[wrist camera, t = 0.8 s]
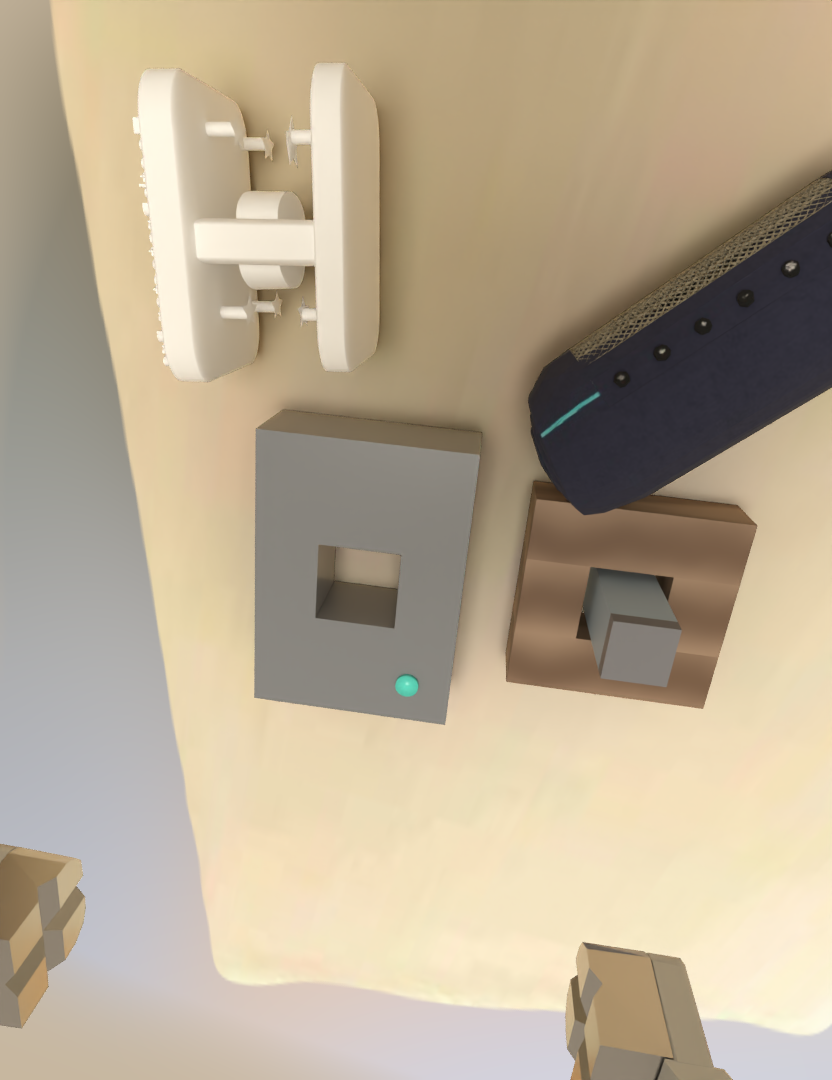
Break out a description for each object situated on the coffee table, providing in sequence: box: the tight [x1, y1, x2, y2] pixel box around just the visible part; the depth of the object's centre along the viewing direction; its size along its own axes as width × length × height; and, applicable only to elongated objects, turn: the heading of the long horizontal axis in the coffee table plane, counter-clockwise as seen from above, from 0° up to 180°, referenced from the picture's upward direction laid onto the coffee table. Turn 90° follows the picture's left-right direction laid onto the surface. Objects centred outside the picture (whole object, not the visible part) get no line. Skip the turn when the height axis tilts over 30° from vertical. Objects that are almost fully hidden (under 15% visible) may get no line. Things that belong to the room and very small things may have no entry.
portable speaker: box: [528, 170, 832, 515], centre depth 40 cm, size 25×10×10 cm, turn 126°
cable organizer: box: [132, 63, 380, 382], centre depth 40 cm, size 15×11×12 cm
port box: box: [254, 410, 482, 725], centre depth 50 cm, size 20×14×6 cm
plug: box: [583, 567, 682, 687], centre depth 47 cm, size 4×4×10 cm
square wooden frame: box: [506, 481, 757, 709], centre depth 50 cm, size 14×14×4 cm
